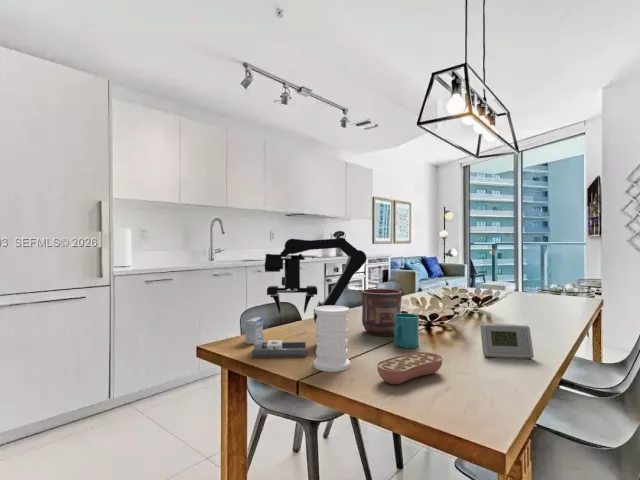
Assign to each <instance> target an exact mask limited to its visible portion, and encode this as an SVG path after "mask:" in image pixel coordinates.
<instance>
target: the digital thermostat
mask: <svg viewBox="0 0 640 480" xmlns="http://www.w3.org/2000/svg"><path fill="white" fill-rule="evenodd" d="M531 333H532V332H531V329H530V326H529V325H527V324H526V325H525V324H524V325H523V324H509V323H504V324H503V323H501V324H500V323H482V324H480V337H481V346H482V347H481V348H482V353H483V356H484V357H487V358H494V359H509V358H513V359H514V360H523V359H525V360H526V359H529V360H531V359H533V358H534V347H533V342H532V334H531ZM513 359H512V360H513Z"/></svg>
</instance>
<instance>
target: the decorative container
mask: <svg viewBox="0 0 640 480" xmlns="http://www.w3.org/2000/svg"><path fill="white" fill-rule="evenodd" d="M314 309H315V313H316V314H317V319H316V323H315V324H316V329H315V335H316V339H315V345H316V349H315V354H316V358H315V359H314V360H313V363H312V364H313V365H312V366H313V367H314V369H317V370H318V371H322V372H330V373H336V372H337V373H338V372H343V371H346V370H348V369H349V368H350V367H351V361H350V359H348V358H347V356H348V354H349V351H348V350H349V349H348V348H347V346H348V345H349V344H348V343H349V340H348V338H347V336H348V334H349V329H348V328H347V325H348V323H349V320H348V318H347V315H348V314H349V313H350V308H349V307H348V306H344V305H335V306H334V305H328V306H319V307H317V306H316V307H315V308H314Z"/></svg>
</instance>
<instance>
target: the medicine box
mask: <svg viewBox="0 0 640 480" xmlns="http://www.w3.org/2000/svg"><path fill="white" fill-rule="evenodd" d="M263 322H264V318H263V317H258V316H257V317H255V316H254V317H252V318H249V319H248V320H246V321H244V340H245V341H244V342H245V344H247V345H254V344H255V342H256V340H257V339H264V336H263V335H264V333H263V331H264V326H263V325H264V323H263Z"/></svg>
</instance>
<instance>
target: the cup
mask: <svg viewBox="0 0 640 480" xmlns="http://www.w3.org/2000/svg"><path fill="white" fill-rule="evenodd" d="M419 320H420V317H419V315H418V314H415V313H407V312H404V313H403V312H401V313H399V314H395V315H394V335H393V338H394V339H393V340H394V341H393V343H394V345H395V346H396V347H399V348H403V349H404V348H405V349H413V348H417V347H418V346H419V345H420V343H419V342H420V336H419V335H420V330H419V327H420V326H419V323H420V321H419Z"/></svg>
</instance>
